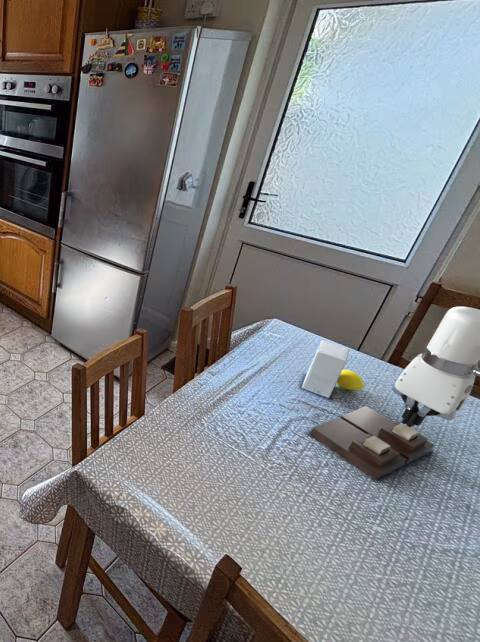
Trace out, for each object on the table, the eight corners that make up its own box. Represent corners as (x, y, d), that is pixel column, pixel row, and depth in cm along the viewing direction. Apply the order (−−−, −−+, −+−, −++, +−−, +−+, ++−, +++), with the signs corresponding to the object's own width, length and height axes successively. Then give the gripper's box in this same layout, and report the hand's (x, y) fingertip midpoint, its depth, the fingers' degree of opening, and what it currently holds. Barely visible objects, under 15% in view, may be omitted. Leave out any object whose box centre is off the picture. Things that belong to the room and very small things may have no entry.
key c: (416, 437, 98) (419, 432, 97) (407, 441, 97) (411, 436, 96) (399, 428, 101) (402, 422, 100) (391, 431, 100) (394, 426, 99)
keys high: (402, 466, 95) (410, 453, 93) (375, 479, 92) (383, 467, 90) (335, 423, 107) (341, 411, 105) (309, 434, 104) (315, 422, 102)
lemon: (326, 383, 121) (332, 368, 119) (335, 377, 123) (342, 362, 121) (355, 397, 115) (362, 382, 113) (364, 391, 117) (372, 376, 115)
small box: (329, 398, 115) (346, 361, 109) (301, 388, 119) (317, 351, 113) (332, 384, 120) (349, 348, 115) (306, 375, 124) (321, 339, 119)
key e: (387, 451, 95) (390, 445, 94) (378, 455, 94) (382, 450, 93) (371, 440, 97) (374, 435, 96) (362, 444, 96) (365, 439, 96)
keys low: (430, 451, 98) (438, 439, 97) (405, 464, 95) (413, 452, 94) (362, 411, 110) (368, 400, 109) (338, 422, 107) (343, 410, 106)
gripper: (506, 378, 84) (460, 442, 92) (414, 339, 97) (381, 398, 105) (486, 387, 82) (441, 452, 90) (394, 345, 95) (362, 406, 103)
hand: (409, 423), depth 97 cm, fingers closed
